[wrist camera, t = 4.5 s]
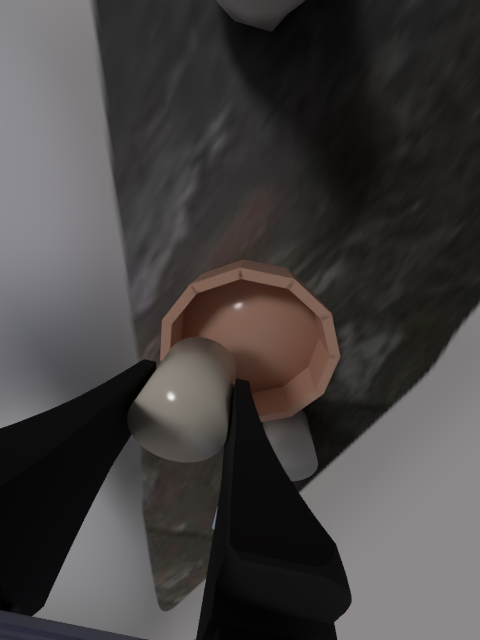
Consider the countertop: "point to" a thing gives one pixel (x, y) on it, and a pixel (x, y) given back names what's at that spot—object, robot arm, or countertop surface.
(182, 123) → the countertop surface
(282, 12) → the salt shaker
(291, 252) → the countertop surface
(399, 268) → the countertop surface
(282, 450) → the pebble
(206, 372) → the pebble
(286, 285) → the bowl
